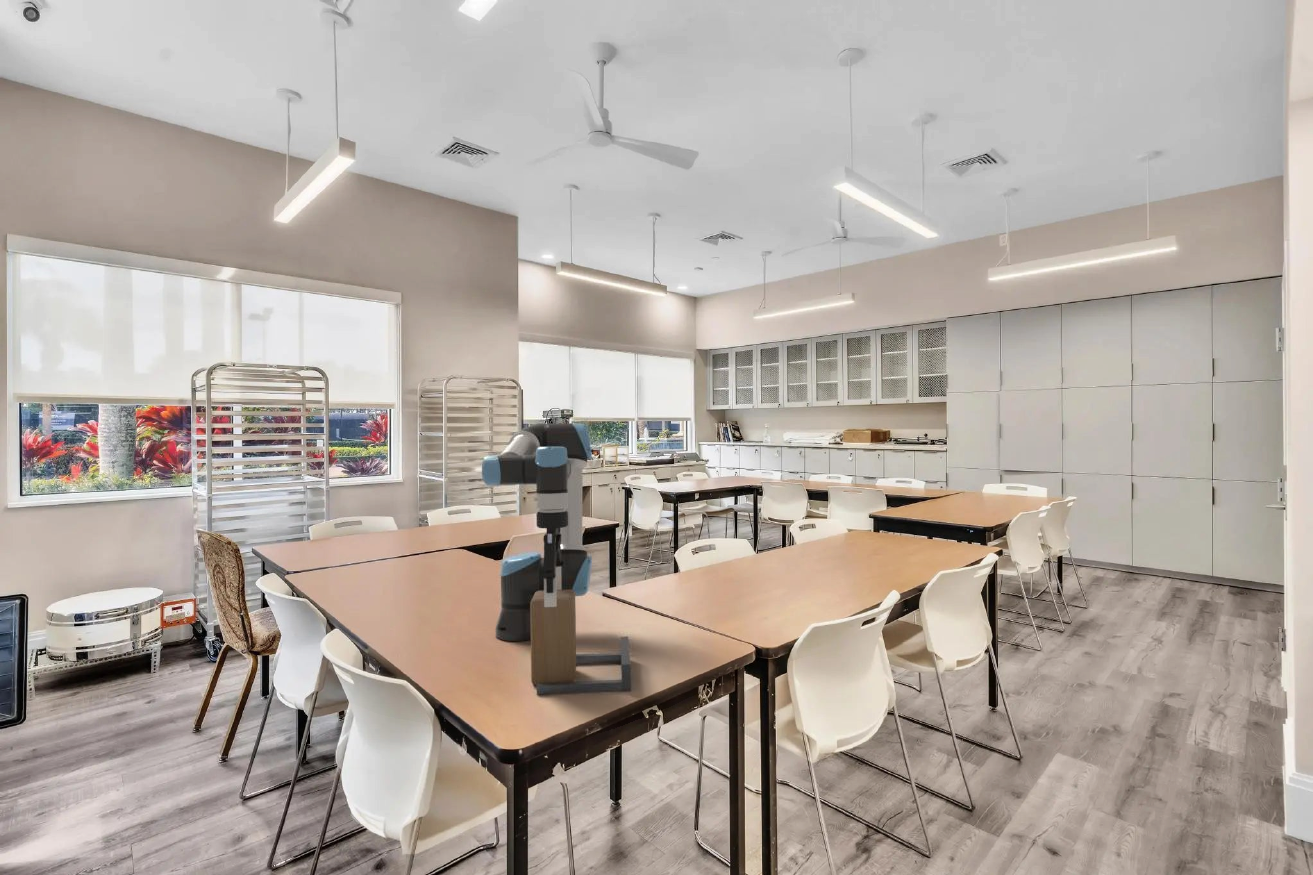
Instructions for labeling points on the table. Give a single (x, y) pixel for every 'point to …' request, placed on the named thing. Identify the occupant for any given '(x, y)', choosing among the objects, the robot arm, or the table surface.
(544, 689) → the end stop channel
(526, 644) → the table surface
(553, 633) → the wooden block
